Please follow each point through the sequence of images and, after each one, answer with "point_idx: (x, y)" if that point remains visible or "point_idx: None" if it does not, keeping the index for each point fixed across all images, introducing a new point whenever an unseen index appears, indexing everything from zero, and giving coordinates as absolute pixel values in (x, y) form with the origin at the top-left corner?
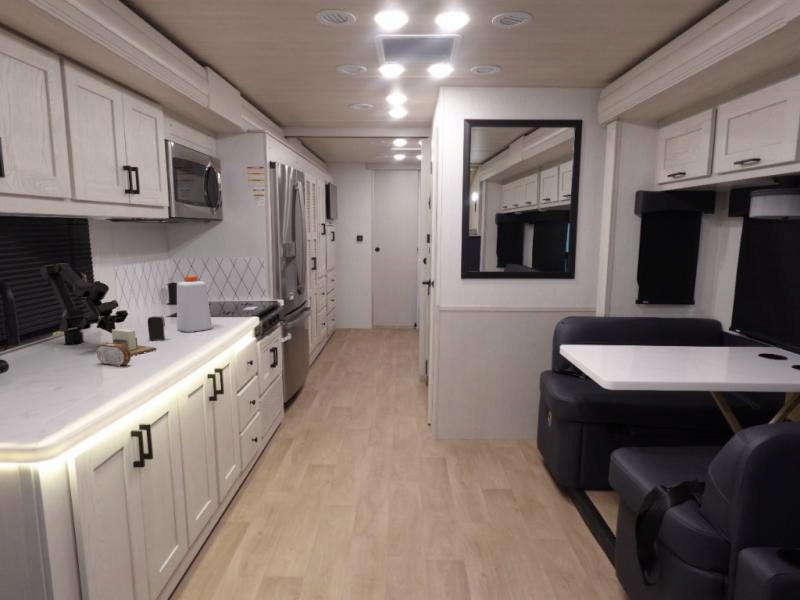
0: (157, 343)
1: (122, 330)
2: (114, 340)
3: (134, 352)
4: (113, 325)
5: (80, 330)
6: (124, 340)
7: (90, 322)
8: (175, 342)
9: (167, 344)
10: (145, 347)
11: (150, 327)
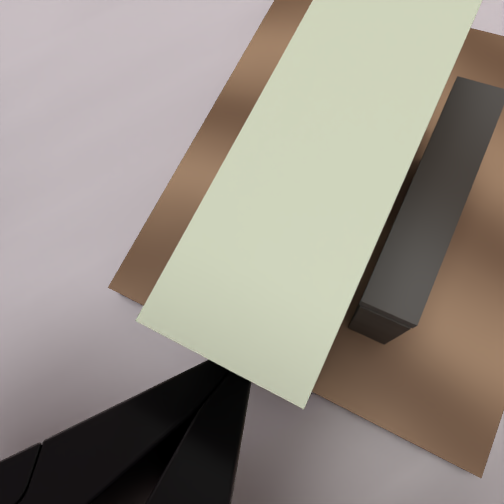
0: (29, 122)
1: (386, 79)
2: (429, 289)
3: (481, 54)
4: (57, 482)
5: None
6: (455, 107)
7: None
8: (24, 6)
9: (85, 26)
10: (267, 73)
11: None
